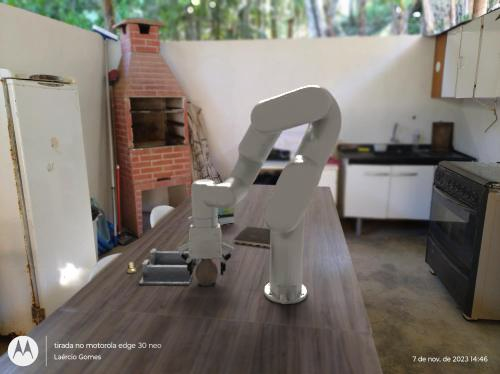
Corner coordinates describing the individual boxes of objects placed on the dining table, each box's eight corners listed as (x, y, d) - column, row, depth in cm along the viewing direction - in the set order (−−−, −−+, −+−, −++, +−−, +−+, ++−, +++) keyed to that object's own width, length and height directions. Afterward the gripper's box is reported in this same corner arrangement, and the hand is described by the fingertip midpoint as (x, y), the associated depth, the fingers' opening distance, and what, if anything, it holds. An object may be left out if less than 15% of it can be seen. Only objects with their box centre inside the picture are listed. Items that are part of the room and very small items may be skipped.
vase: (207, 275, 122) (206, 250, 120) (222, 282, 118) (222, 256, 116) (191, 283, 117) (190, 257, 115) (207, 290, 113) (206, 264, 111)
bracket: (189, 284, 117) (188, 270, 115) (139, 284, 117) (138, 269, 116) (198, 257, 137) (198, 244, 135) (156, 256, 137) (155, 244, 136)
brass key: (136, 273, 125) (136, 270, 125) (127, 274, 124) (127, 272, 124) (135, 263, 132) (135, 261, 131) (127, 265, 131) (126, 262, 131)
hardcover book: (290, 252, 142) (290, 246, 142) (233, 244, 150) (233, 238, 149) (299, 237, 157) (299, 232, 156) (247, 230, 164) (247, 225, 164)
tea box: (234, 223, 172) (234, 192, 168) (213, 226, 168) (212, 194, 165) (224, 214, 185) (224, 185, 182) (204, 216, 182) (203, 187, 178)
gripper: (173, 225, 109) (176, 278, 113) (233, 225, 109) (233, 279, 113) (178, 216, 117) (181, 267, 121) (234, 217, 116) (235, 268, 120)
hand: (206, 273), depth 117 cm, fingers open, 9 cm apart
